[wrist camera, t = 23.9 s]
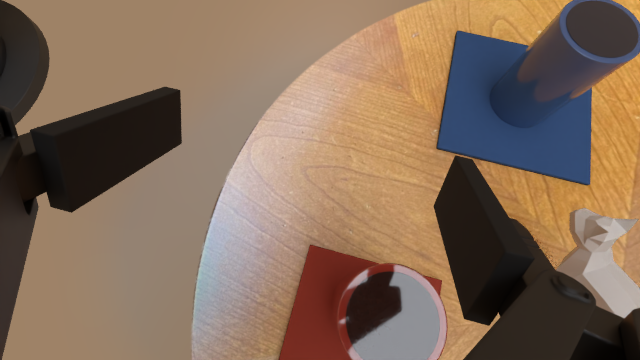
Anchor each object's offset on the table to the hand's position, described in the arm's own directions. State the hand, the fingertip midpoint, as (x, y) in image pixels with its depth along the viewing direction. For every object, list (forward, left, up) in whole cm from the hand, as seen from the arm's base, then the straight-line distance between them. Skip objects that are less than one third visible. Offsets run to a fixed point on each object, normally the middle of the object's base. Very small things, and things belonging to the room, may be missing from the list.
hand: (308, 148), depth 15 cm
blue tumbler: (-19, +19, -18) cm, 32 cm away
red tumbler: (+7, +7, -18) cm, 20 cm away
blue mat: (-19, +19, -18) cm, 32 cm away
